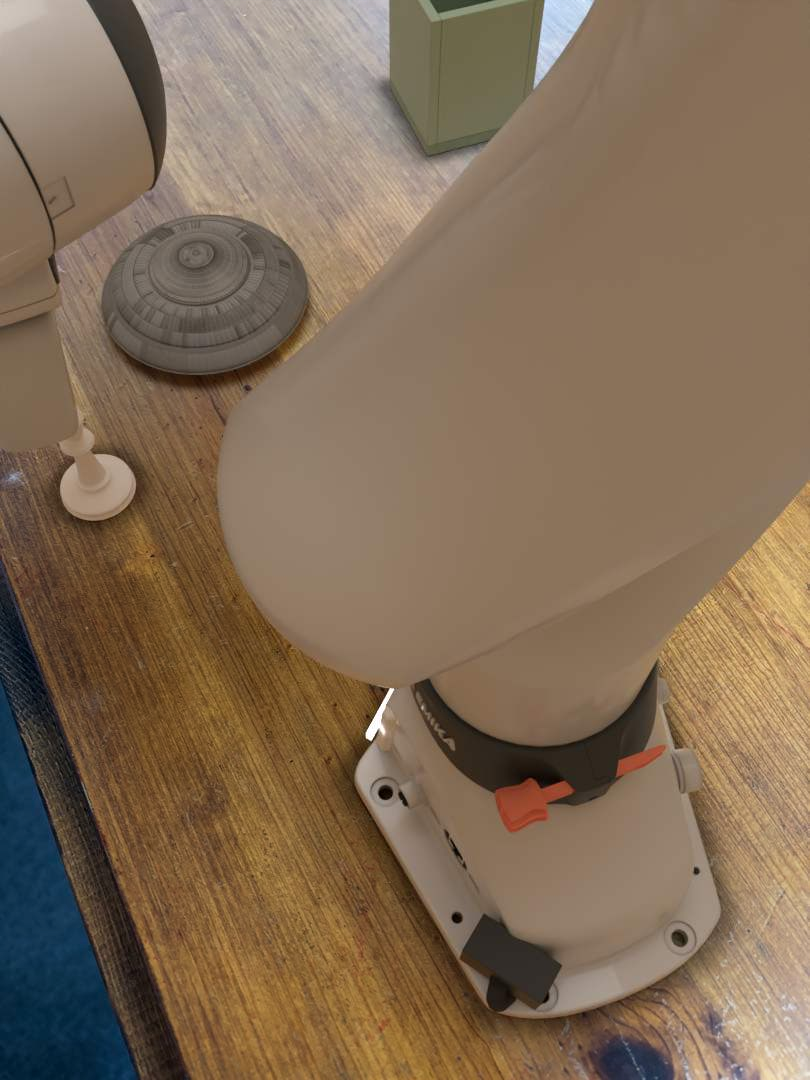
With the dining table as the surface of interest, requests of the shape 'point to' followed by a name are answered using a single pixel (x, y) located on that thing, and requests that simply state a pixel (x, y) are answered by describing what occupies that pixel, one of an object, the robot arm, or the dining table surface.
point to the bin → (462, 66)
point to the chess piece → (94, 479)
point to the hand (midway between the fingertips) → (35, 358)
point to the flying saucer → (204, 295)
